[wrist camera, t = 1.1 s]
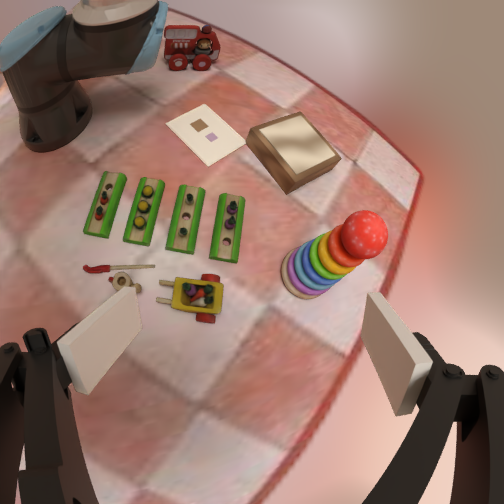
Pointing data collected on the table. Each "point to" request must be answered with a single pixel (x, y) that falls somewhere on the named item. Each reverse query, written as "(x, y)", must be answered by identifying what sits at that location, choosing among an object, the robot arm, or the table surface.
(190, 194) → the toy garden set
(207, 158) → the page
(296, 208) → the table surface
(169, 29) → the toy fire truck
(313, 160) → the pedestal
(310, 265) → the stacking toy
